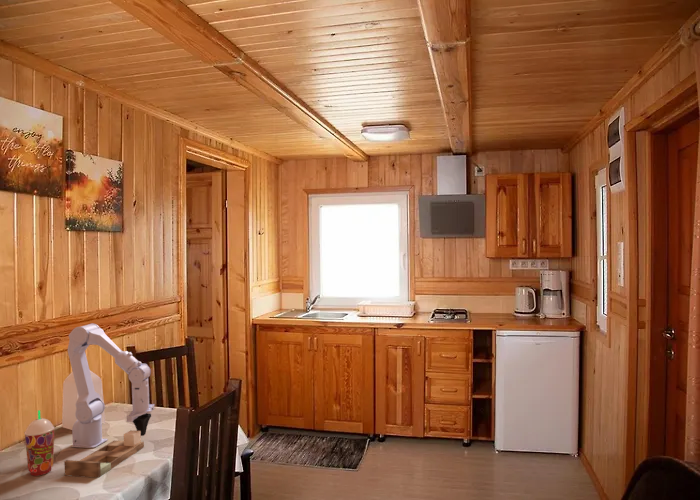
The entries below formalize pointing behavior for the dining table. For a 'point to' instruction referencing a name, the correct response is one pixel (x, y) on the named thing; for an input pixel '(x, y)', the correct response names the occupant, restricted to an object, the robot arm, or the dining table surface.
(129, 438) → the block
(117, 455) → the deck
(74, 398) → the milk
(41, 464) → the smoothie
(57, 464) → the dining table surface
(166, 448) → the dining table surface
